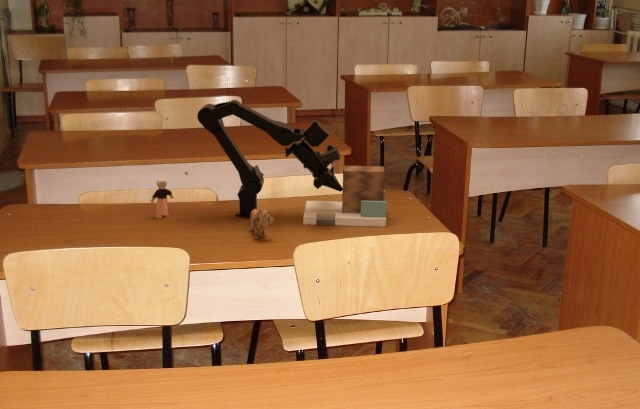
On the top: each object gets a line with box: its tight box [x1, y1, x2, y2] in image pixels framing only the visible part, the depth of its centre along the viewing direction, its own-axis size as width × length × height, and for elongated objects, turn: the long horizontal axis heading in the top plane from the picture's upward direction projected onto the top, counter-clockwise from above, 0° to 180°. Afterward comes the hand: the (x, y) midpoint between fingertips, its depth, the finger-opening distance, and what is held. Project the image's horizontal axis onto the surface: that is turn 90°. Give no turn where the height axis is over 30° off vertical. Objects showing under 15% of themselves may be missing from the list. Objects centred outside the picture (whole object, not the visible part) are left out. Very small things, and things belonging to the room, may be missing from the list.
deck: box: [302, 189, 388, 228], centre depth 254 cm, size 26×16×8 cm, turn 87°
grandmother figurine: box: [150, 178, 174, 219], centre depth 252 cm, size 8×4×13 cm, turn 137°
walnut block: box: [341, 165, 385, 213], centre depth 252 cm, size 13×6×14 cm, turn 87°
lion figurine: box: [248, 208, 274, 239], centre depth 239 cm, size 15×5×9 cm, turn 26°
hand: (341, 190), depth 252 cm, fingers closed
